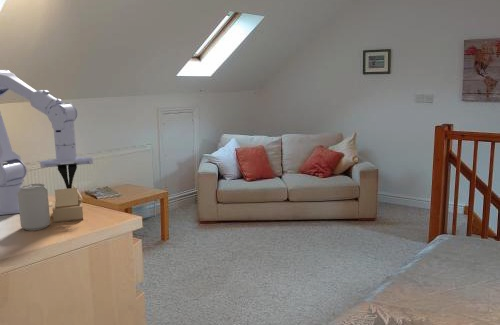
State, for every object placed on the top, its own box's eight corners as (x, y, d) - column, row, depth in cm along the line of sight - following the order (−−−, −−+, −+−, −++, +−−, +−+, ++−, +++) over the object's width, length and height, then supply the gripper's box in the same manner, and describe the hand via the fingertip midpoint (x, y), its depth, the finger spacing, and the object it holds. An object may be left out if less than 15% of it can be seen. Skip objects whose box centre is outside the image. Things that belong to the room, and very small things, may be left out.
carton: (40, 211, 148) (39, 198, 147) (81, 207, 152) (80, 194, 152) (38, 224, 134) (36, 210, 133) (83, 219, 138) (82, 205, 138)
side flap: (72, 186, 140) (73, 186, 140) (72, 183, 145) (73, 183, 145) (81, 200, 142) (82, 200, 142) (81, 197, 146) (82, 196, 146)
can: (39, 232, 127) (35, 188, 125) (15, 230, 129) (10, 187, 127) (56, 224, 135) (52, 182, 133) (32, 222, 136) (28, 182, 134)
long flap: (54, 190, 136) (54, 189, 136) (76, 188, 138) (76, 187, 138) (56, 206, 135) (56, 206, 135) (78, 204, 137) (78, 204, 137)
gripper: (38, 147, 134) (42, 194, 136) (91, 144, 139) (95, 189, 141) (39, 144, 140) (43, 189, 143) (90, 141, 145) (94, 185, 148)
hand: (69, 189), depth 142 cm, fingers closed
